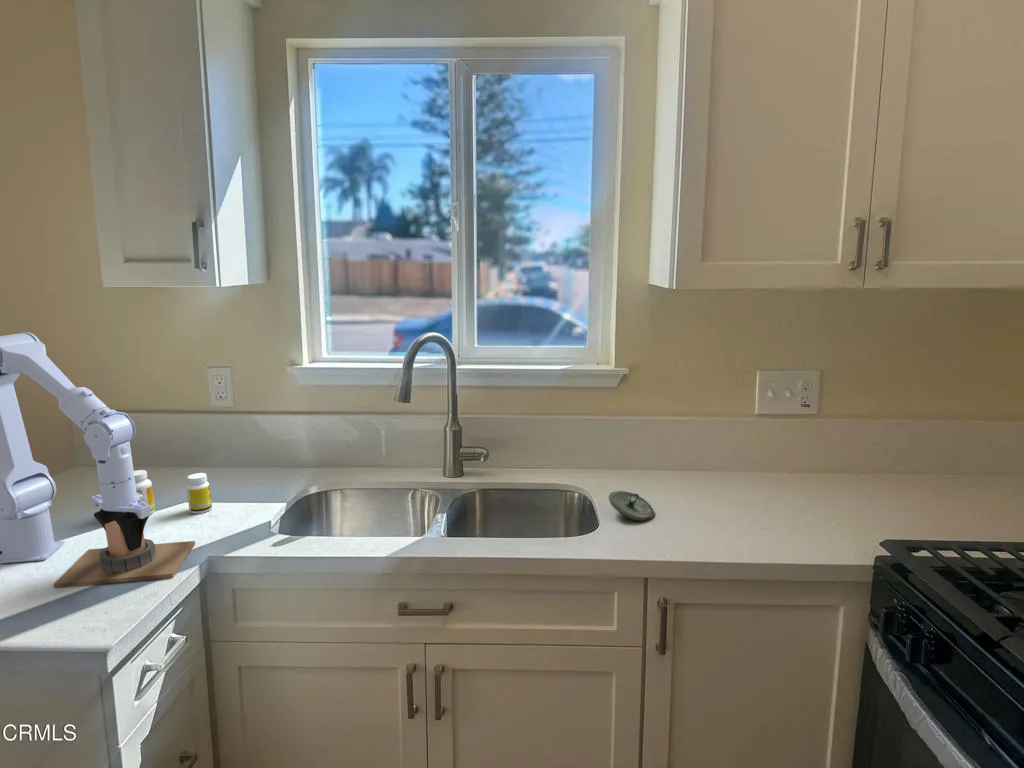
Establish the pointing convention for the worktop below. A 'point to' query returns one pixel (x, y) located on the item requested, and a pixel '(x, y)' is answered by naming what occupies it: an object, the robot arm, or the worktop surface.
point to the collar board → (146, 572)
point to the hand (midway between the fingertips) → (126, 546)
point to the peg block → (119, 541)
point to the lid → (631, 505)
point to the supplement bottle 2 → (198, 493)
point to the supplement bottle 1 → (144, 488)
